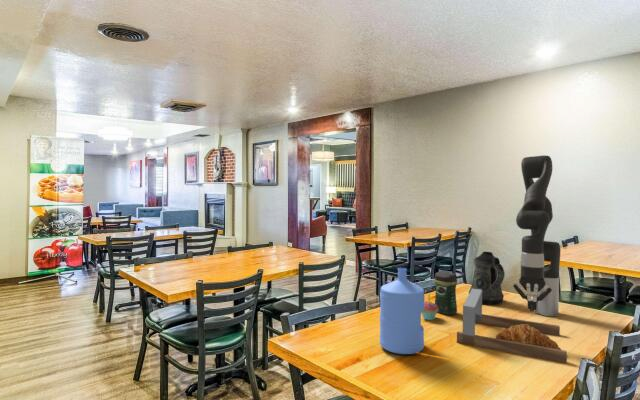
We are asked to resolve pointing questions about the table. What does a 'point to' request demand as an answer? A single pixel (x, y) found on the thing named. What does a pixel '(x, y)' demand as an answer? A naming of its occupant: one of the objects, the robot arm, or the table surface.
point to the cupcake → (429, 309)
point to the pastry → (527, 336)
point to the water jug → (401, 316)
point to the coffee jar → (446, 293)
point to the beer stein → (488, 278)
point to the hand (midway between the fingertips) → (531, 310)
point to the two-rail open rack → (474, 314)
